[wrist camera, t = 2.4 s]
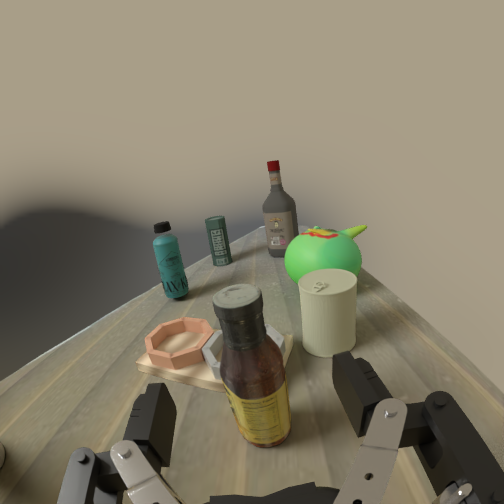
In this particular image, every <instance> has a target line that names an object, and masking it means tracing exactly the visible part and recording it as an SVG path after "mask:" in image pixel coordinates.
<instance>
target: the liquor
mask: <svg viewBox="0 0 504 504" xmlns="http://www.w3.org/2000/svg"><path fill="white" fill-rule="evenodd" d="M267 165H268V171H269V175H270V183H271V193H270V194H269V196H268V197H267V199H266V201H265V202H264V204H263V214H264V221H265V228H266V235H267V243H268V250H269V254H270V255H271V256H273V257H285V253H286V250H287V247H288V245H289V244H290V242H291V241H292V240H293V239H294V238H295V237H297V236H298V235H299V232H298V224H297V214H296V206H295V202H294V200H293V198H291V197H290V196H289V195H288V194H287V193H286V192H285V191H284V190H283V187H282V183H281V177H280V166H279V161H278V160H277V161H270V162H267Z"/></svg>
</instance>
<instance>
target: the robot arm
mask: <svg viewBox="0 0 504 504" xmlns="http://www.w3.org/2000/svg"><path fill="white" fill-rule="evenodd" d="M332 378H333V384H334V387H335V390H336V392H337V394H338V396H339V398H340V400H341V403H342V405H343V407H344V409H345V411H346V413H347V415H348V417H349V420H350V422H351V424H352V426H353V428H354V430H355V432H356V435H357V437H358V438H359V437H362V436H364V435H365V438H364V441H363V443H362V445H361V446H360V448H359V450H358V453H357V455H356V457H355V460H354V462H353V464H352V466H351V469H350V471H349V473H348V475H347V477H346V479H345V481H344V483H343V485H342V487H341V489H340V490H339V489H336V488H331V487H316V486H315V482H310V483H306V484H302V485H297V486H292V487H288V488H285V489H283V490H280V491H278V492H275V493H273V494H270V495H267V496H264V497H253V496H243V495H222V496H210V502H207V503H204V504H380V503H381V500H382V498H383V495H384V493H385V490H386V487H387V485H388V482H389V479H390V476H391V473H392V470H393V467H394V464H395V461H396V457H397V454H398V448H403V447H409V446H413V447H414V449H415V451H416V453H417V455H418V457H419V459H420V461H421V463H422V465H423V467H424V470H425V472H426V474H427V476H428V478H429V480H430V482H431V484H432V486H433V488H434V491H435V493H436V495H437V498H436V499H435V500H434V502H433V503H432V504H504V472H503V470H502V469H501V467H500V466H499V464H498V462H497V461H496V459H495V458H494V456H493V455H492V453H491V451H490V450H489V448H488V447H487V445H486V444H485V442H484V441H483V439H482V438H481V436H480V435H479V433H478V432H477V431H476V429H475V428H474V426H473V425H472V423H471V422H470V420H469V419H468V418H467V416H466V415H465V413H464V412H463V411H462V409H461V408H460V407H459V405H458V404H457V403H456V401H455V400H454V398H453V397H452V396H451V395H450V394H449V393H447V392H443V391H436V392H433V393H431V394H430V395H428V396H427V398H426V400H425V402H419V403H412V404H405V403H404V402H403V401H401V400H399V399H395V398H393V397H392V396H391V394H390V393H389V391H388V390H387V388H386V387H385V385H384V384H383V382H382V381H381V379H380V378H379V377H378V375H377V373H376V372H375V371H374V369H373V368H372V366H371V365H370V363H369V362H367V361H366V360H364V359H362V358H357V359H354V358H353V356H352V355H351V353H350V352H349V351H344V352H341V353H337V354H334V355H333V366H332ZM176 415H177V411H176V406H175V403H174V401H173V399H172V397H171V395H170V393H169V391H168V389H167V387H166V385H165V383H152V384H148V386H147V389H146V393H145V394H140V396H139V397H138V398H137V399H136V400H135V402H134V405H133V408H132V411H131V414H130V418H129V421H128V424H127V427H126V431H125V434H124V438H123V440H122V441H120V442H117V443H116V444H115V445H114V446H113V447H112V448H111V451H108V452H102V453H96V454H95V453H94V452H93V451H92V450H91V449H89V448H86V447H82V448H79V449H77V450H75V451H74V452H73V453H72V455H71V457H70V460H69V463H68V466H67V469H66V473H65V476H64V479H63V483H62V486H61V490H60V494H59V498H58V501H57V504H122V500H123V492H124V490H126V491H127V494H128V495H129V497H130V499H131V500H132V502H133V504H186V503H185V502H184V501H183V500H182V499H181V498H180V497H179V495H178V494H177V493H176V492H175V491H174V489H173V488H172V487H171V486H170V484H169V483H168V482H167V481H166V479H165V478H164V477H163V475H162V474H161V473H160V472H161V467H169V466H170V458H171V450H172V443H173V436H174V429H175V422H176ZM4 458H5V450H4V447H3V445H2V443H1V442H0V468H1V467H2V465H3V462H4Z"/></svg>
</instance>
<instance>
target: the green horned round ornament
mask: <svg viewBox="0 0 504 504" xmlns="http://www.w3.org/2000/svg"><path fill="white" fill-rule="evenodd" d="M366 228H367V226H366V225H361V226H356V227H353V228H349V229H345V230H342V231H335V230H330V229H321V228H320V227H318V226H315V227H314V229H308V231H306V232H304V233H301V234H300V235H298V236H297V237H295V238H294V239H293V240H292V241H291V242H290V244H289V245H288V247H287V250H286V253H285V259H284V261H285V267H286V270H287V272H288V274H289V276H290V277H291V279H292V280H293V281H294V282H295V283H297V284H298V282H299V279H300V278H301V277H302V276H304V275H305V274H307V273H309V272H312V271H316V270H320V269H342V270H346V271H349V272H351V273H353V274H354V275H355V276H356V277H357V276H358V274H359V272H360V269H361V263H362V258H361V253H360V250H359V248H358V246H357V244H356V243H355V242H354V241H353V240H352V239H353V238H354V237H356V236H357V235H358V234H360V233H361V232H362V231H364V230H365V229H366Z"/></svg>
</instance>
